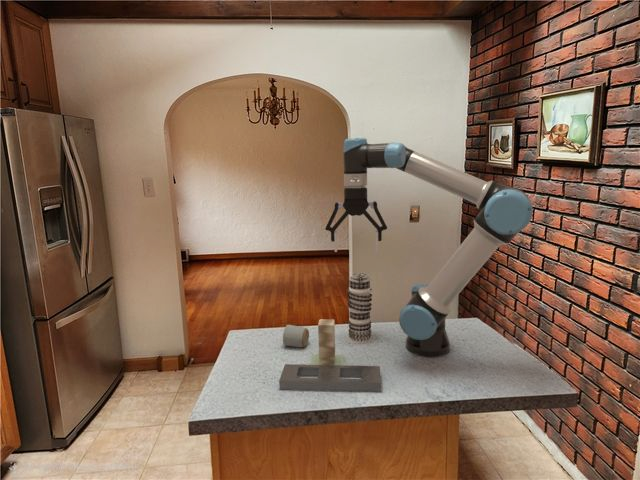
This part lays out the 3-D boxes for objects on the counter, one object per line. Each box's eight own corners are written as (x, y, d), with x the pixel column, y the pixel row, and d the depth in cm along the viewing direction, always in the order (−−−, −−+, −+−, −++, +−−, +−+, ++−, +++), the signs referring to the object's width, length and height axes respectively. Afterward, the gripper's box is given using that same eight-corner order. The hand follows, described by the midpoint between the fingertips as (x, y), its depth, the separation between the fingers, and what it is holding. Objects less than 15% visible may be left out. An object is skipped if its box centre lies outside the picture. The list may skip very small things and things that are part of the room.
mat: (344, 355, 144) (344, 354, 144) (343, 371, 133) (343, 370, 133) (312, 355, 145) (312, 354, 145) (309, 371, 134) (309, 369, 134)
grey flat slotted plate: (379, 374, 130) (379, 366, 130) (381, 392, 121) (381, 382, 120) (285, 372, 133) (284, 364, 133) (279, 389, 123) (279, 380, 123)
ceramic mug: (304, 351, 148) (303, 330, 147) (282, 349, 150) (282, 328, 149) (312, 339, 158) (312, 320, 157) (292, 337, 160) (291, 318, 159)
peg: (335, 358, 141) (334, 319, 138) (334, 365, 136) (333, 325, 133) (320, 358, 141) (319, 319, 139) (319, 365, 136) (318, 325, 134)
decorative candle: (347, 333, 162) (346, 271, 158) (371, 333, 162) (371, 271, 157) (347, 343, 153) (346, 278, 149) (373, 343, 153) (372, 278, 148)
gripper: (316, 188, 132) (318, 253, 136) (395, 186, 130) (395, 252, 134) (318, 187, 140) (320, 248, 144) (393, 185, 138) (393, 248, 141)
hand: (356, 250), depth 139 cm, fingers open, 13 cm apart
